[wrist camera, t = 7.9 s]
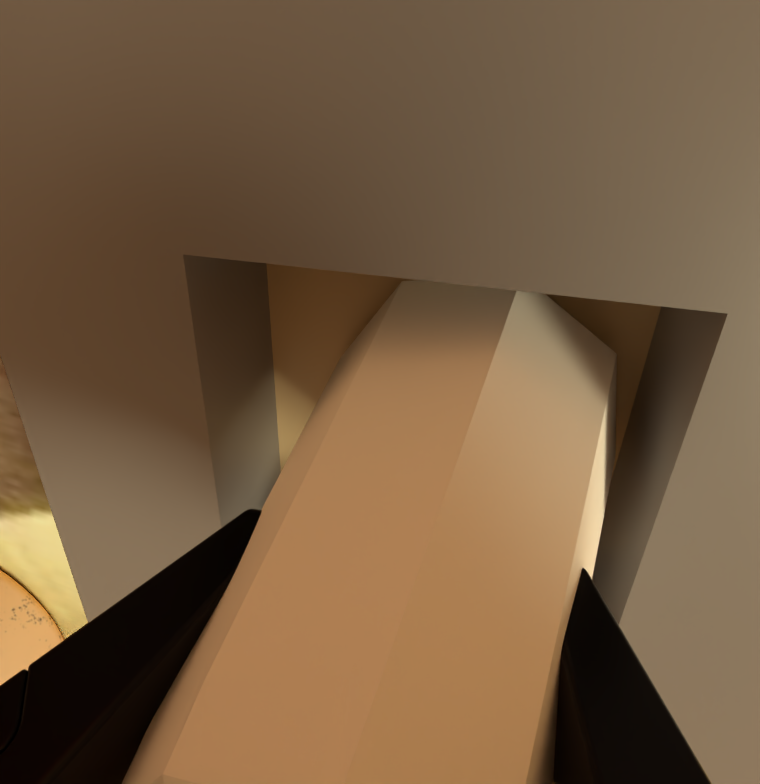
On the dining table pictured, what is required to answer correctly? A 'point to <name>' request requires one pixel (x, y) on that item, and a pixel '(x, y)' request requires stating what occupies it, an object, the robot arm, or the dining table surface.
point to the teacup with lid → (22, 629)
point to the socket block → (391, 268)
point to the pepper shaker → (410, 561)
